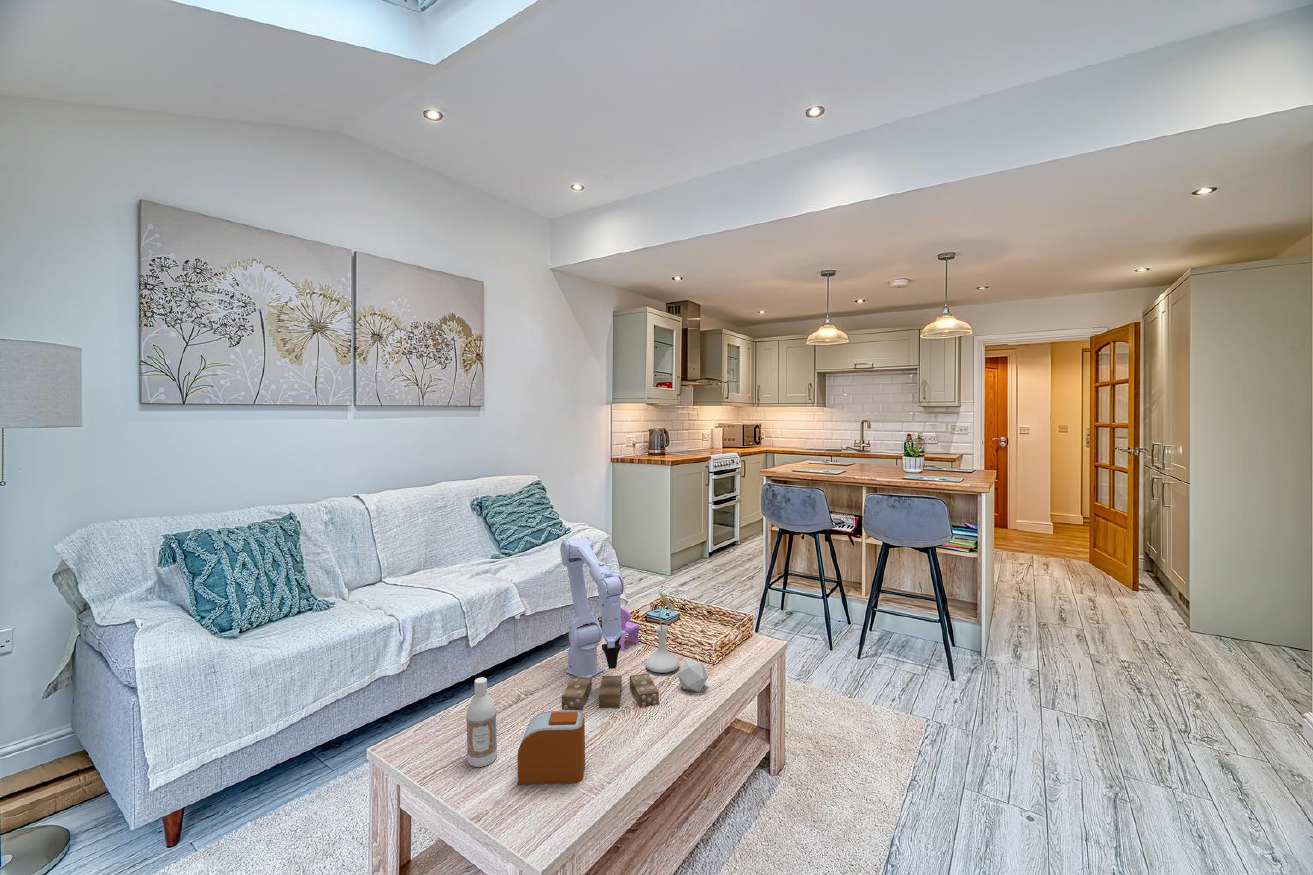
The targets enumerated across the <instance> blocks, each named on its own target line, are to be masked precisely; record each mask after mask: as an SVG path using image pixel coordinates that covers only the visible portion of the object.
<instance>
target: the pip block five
mask: <svg viewBox="0 0 1313 875" xmlns="http://www.w3.org/2000/svg"><path fill="white" fill-rule="evenodd" d="M629 689H630V691H631V693H632V695H633V697H634V699H635V701H636V702H635V703H637V706H638V708H644V707H649V706H656V705H660V693H659V692H660V691H659V689H658V688H657V686H656V685H655V683H654V681H653V679H652V677H651V675H650V673H649V672H648V673H639V674H632V675H629Z"/></svg>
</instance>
